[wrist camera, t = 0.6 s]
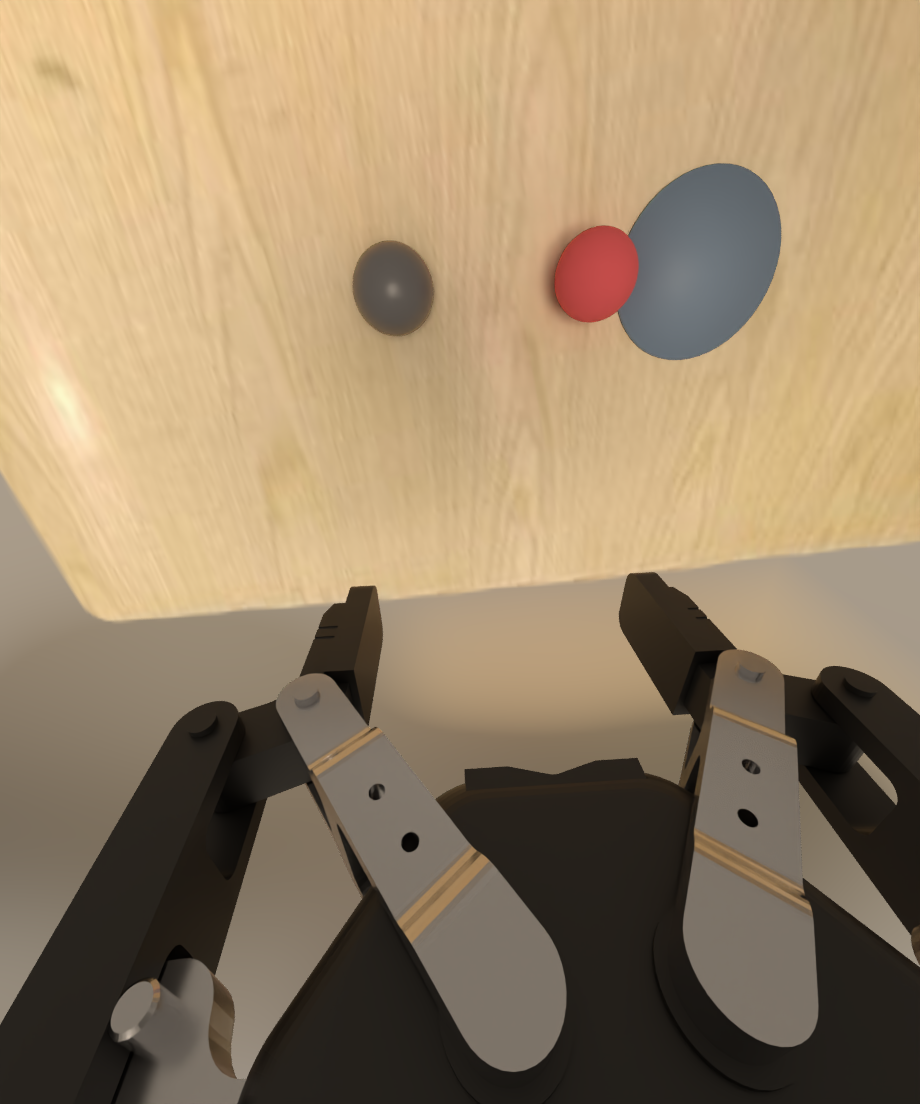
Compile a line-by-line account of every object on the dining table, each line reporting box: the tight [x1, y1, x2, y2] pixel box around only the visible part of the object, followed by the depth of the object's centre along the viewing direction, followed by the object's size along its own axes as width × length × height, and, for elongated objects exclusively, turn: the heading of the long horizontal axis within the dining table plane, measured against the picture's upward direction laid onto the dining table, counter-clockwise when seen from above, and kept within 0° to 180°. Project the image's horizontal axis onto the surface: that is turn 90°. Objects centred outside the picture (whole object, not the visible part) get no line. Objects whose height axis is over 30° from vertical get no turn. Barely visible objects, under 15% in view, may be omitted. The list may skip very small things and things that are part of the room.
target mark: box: [618, 164, 781, 360], centre depth 30 cm, size 12×12×1 cm
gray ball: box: [353, 241, 434, 336], centre depth 28 cm, size 6×6×6 cm
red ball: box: [555, 226, 639, 322], centre depth 28 cm, size 6×6×6 cm
